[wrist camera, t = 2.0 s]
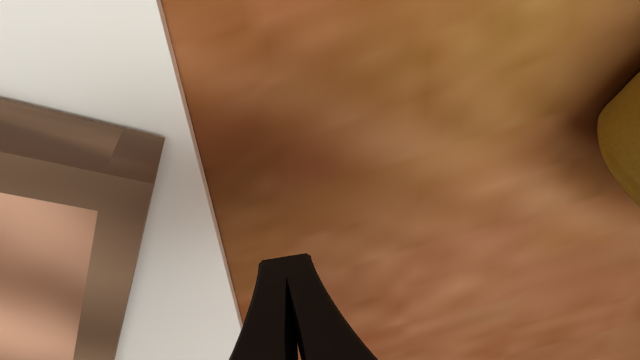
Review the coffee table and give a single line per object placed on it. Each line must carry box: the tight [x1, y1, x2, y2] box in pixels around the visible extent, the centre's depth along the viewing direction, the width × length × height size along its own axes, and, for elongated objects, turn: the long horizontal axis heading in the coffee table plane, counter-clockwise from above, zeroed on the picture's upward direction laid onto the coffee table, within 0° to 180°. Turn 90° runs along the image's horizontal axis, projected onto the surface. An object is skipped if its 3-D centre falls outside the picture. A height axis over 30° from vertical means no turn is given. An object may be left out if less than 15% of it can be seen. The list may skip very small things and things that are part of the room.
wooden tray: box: [0, 99, 165, 360], centre depth 19 cm, size 15×9×4 cm, turn 160°
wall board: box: [0, 0, 243, 360], centre depth 21 cm, size 21×18×1 cm
